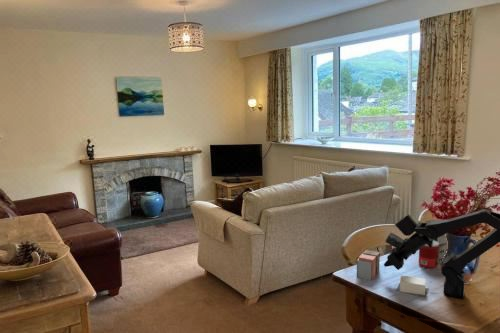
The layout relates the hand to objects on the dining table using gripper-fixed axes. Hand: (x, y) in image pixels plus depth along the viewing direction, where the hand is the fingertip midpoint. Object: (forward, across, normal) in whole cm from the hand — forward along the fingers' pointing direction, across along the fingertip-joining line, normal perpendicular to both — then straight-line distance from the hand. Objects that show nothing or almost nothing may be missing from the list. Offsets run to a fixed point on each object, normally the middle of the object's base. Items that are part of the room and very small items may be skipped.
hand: (384, 265), depth 167 cm
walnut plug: (+10, -5, 0) cm, 11 cm away
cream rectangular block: (-4, +4, +13) cm, 14 cm away
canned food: (-4, -24, +14) cm, 28 cm away
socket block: (+10, -3, -1) cm, 11 cm away
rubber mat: (-3, +4, +13) cm, 14 cm away
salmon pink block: (+10, 0, 0) cm, 10 cm away
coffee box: (-5, -38, +15) cm, 41 cm away
